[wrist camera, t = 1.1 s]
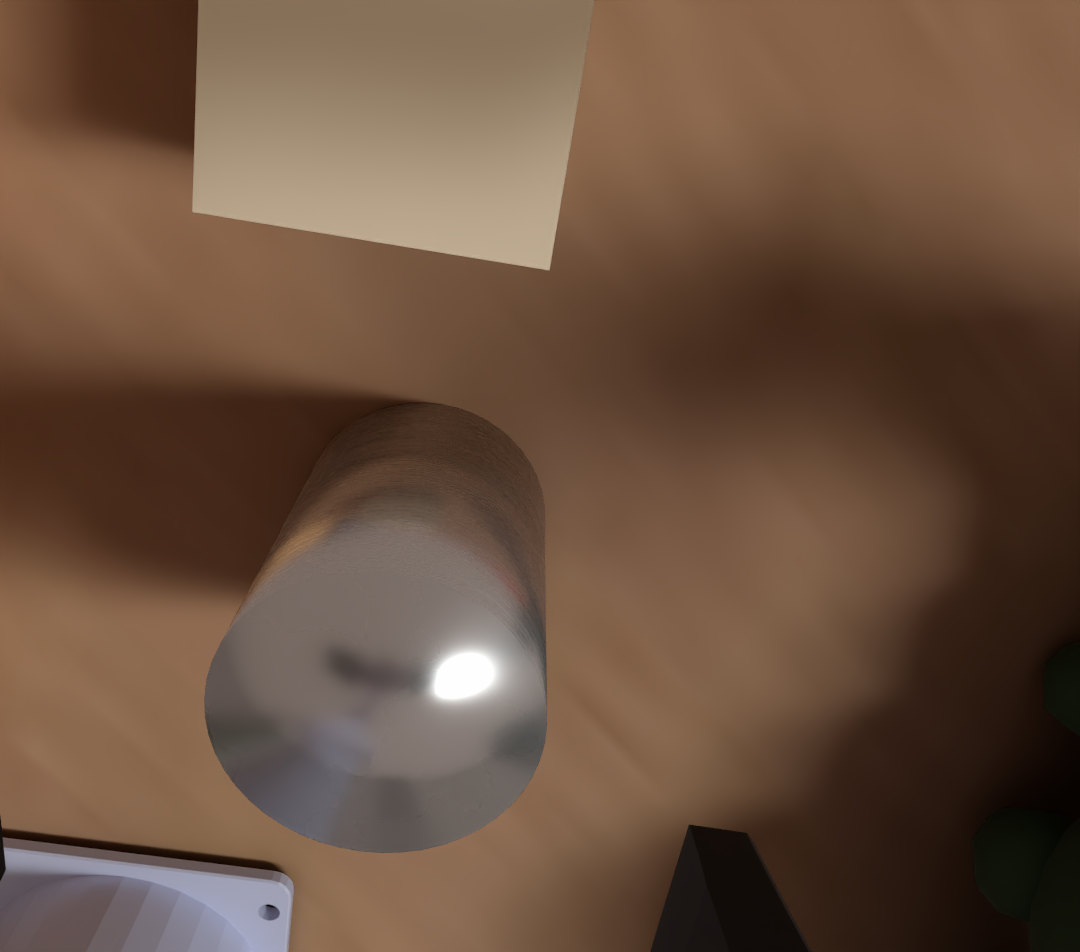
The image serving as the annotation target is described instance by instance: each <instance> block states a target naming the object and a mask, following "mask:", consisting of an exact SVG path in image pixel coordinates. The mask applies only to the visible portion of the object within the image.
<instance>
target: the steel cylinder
mask: <svg viewBox="0 0 1080 952" xmlns="http://www.w3.org/2000/svg"><path fill="white" fill-rule="evenodd" d="M204 703H205V719H206V724H207V729H208V734H209V737H210V740H211V743H212V745H213V748H214V751H215V753H216V755H217V757H218V759H219V761H220V763H221V765H222V767H223V768H224V770H225V772H226V773H227V774H228V776H229V777H230V778H231V780H232V781H233V783H234V784H235V785H236V787H237V788H238V789H239V790H240V791H241V792H242V793H243V794H244V795H245V796H246V797H247V798H248V799H249V800H250V801H251V802H252V803H253V804H254V805H255V806H257V807H258V808H259V809H260V810H261V811H263V812H264V813H265V814H267V815H268V816H270V817H271V818H273V819H274V820H276V821H277V822H279V823H280V824H282V825H283V826H285V827H287V828H289V829H291V830H293V831H295V832H297V833H299V834H301V835H303V836H306V837H308V838H311V839H313V840H316V841H319V842H322V843H325V844H329V845H332V846H336V847H339V848H345V849H351V850H356V851H364V852H377V853H395V852H409V851H416V850H423V849H428V848H432V847H436V846H440V845H444V844H447V843H449V842H452V841H455V840H458V839H461V838H463V837H465V836H467V835H469V834H471V833H473V832H475V831H477V830H479V829H481V828H482V827H484V826H485V825H487V824H488V823H490V822H491V821H493V820H494V819H496V818H497V817H498V816H499V815H500V814H502V813H503V812H504V811H505V810H506V809H507V808H509V807H510V806H511V805H512V803H513V802H514V801H515V800H516V799H517V798H518V797H519V796H520V794H521V793H522V792H523V790H524V789H525V787H526V786H527V784H528V783H529V781H530V780H531V778H532V777H533V774H534V772H535V770H536V768H537V766H538V764H539V761H540V758H541V755H542V751H543V748H544V744H545V737H546V729H547V683H546V575H545V505H544V499H543V494H542V489H541V486H540V483H539V480H538V477H537V475H536V473H535V471H534V469H533V467H532V465H531V463H530V462H529V460H528V459H527V457H526V456H525V454H524V453H523V451H522V450H521V449H520V448H519V447H518V446H517V445H516V444H515V442H514V441H513V440H512V439H511V438H510V437H508V436H507V435H506V434H505V433H504V432H503V431H501V430H500V429H499V428H497V427H496V426H494V425H493V424H491V423H490V422H488V421H487V420H485V419H483V418H481V417H479V416H477V415H475V414H473V413H470V412H467V411H465V410H462V409H459V408H456V407H451V406H446V405H442V404H432V403H407V404H400V405H394V406H390V407H386V408H383V409H380V410H376V411H374V412H372V413H370V414H367V415H365V416H363V417H361V418H359V419H358V420H356V421H355V422H353V423H351V424H350V425H348V426H347V427H346V428H345V429H344V430H342V431H341V432H340V433H339V434H337V436H336V437H335V438H334V439H333V440H332V441H331V442H330V443H329V444H328V445H327V447H326V448H325V450H324V451H323V453H322V454H321V456H320V457H319V459H318V461H317V463H316V465H315V467H314V468H313V470H312V472H311V474H310V476H309V478H308V480H307V482H306V484H305V485H304V487H303V489H302V491H301V493H300V495H299V497H298V499H297V500H296V502H295V504H294V506H293V508H292V510H291V512H290V514H289V516H288V517H287V519H286V521H285V523H284V525H283V527H282V529H281V531H280V532H279V534H278V536H277V538H276V540H275V542H274V544H273V546H272V548H271V549H270V551H269V553H268V555H267V557H266V559H265V561H264V563H263V564H262V566H261V568H260V570H259V572H258V574H257V576H256V578H255V580H254V581H253V583H252V585H251V587H250V589H249V591H248V593H247V595H246V596H245V598H244V600H243V602H242V604H241V606H240V608H239V610H238V612H237V613H236V615H235V617H234V619H233V621H232V623H231V625H230V627H229V628H228V630H227V632H226V634H225V636H224V638H223V640H222V642H221V644H220V646H219V648H218V650H217V652H216V654H215V656H214V658H213V660H212V663H211V666H210V670H209V673H208V676H207V680H206V688H205V697H204Z"/></svg>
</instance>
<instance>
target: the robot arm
mask: <svg viewBox="0 0 1080 952" xmlns="http://www.w3.org/2000/svg"><path fill="white" fill-rule="evenodd" d="M293 893H294V887H293V882H292V881H291V880H290V878H289V877H288V876H286V875H285V874H283V873H281V872H277V871H271V870H263V869H255V868H247V867H239V866H231V865H223V864H215V863H206V862H198V861H190V860H182V859H174V858H166V857H158V856H150V855H142V854H134V853H125V852H117V851H109V850H101V849H93V848H85V847H77V846H69V845H61V844H52V843H44V842H36V841H28V840H20V839H12V838H4V837H3V836H2V827H1V818H0V952H288V949H289V938H290V927H291V915H292V904H293ZM268 904H270V905H273V906H275V907H276V908H271V907H268V906H266V905H268ZM651 952H811V950H810V948H809V946H808V944H807V943H806V941H805V939H804V937H803V935H802V933H801V932H800V930H799V928H798V926H797V924H796V923H795V921H794V919H793V917H792V915H791V913H790V911H789V910H788V908H787V906H786V904H785V902H784V900H783V898H782V896H781V895H780V893H779V891H778V889H777V887H776V885H775V883H774V881H773V879H772V877H771V875H770V874H769V872H768V870H767V868H766V866H765V864H764V862H763V860H762V858H761V856H760V854H759V852H758V850H757V848H756V846H755V844H754V843H753V841H752V840H751V838H750V837H749V836H748V834H747V833H743V832H736V831H729V830H722V829H715V828H708V827H701V826H694V825H689V826H688V830H687V833H686V836H685V840H684V843H683V846H682V850H681V853H680V856H679V859H678V863H677V866H676V869H675V873H674V876H673V879H672V882H671V886H670V889H669V892H668V896H667V899H666V902H665V906H664V909H663V912H662V915H661V919H660V922H659V925H658V929H657V932H656V935H655V939H654V942H653V945H652V948H651Z"/></svg>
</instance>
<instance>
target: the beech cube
mask: <svg viewBox="0 0 1080 952" xmlns="http://www.w3.org/2000/svg"><path fill="white" fill-rule="evenodd" d="M594 1H595V0H198V34H197V69H196V105H195V141H194V176H193V212H196V213H202V214H208V215H215V216H221V217H227V218H233V219H239V220H245V221H251V222H257V223H263V224H270V225H276V226H282V227H288V228H294V229H300V230H306V231H312V232H318V233H324V234H331V235H337V236H343V237H349V238H355V239H361V240H367V241H373V242H379V243H386V244H392V245H398V246H404V247H410V248H416V249H422V250H428V251H434V252H441V253H447V254H453V255H459V256H465V257H471V258H477V259H483V260H489V261H495V262H502V263H508V264H514V265H520V266H526V267H532V268H538V269H544V270H550V264H551V258H552V252H553V246H554V240H555V234H556V228H557V222H558V216H559V210H560V204H561V198H562V192H563V186H564V180H565V174H566V168H567V162H568V156H569V150H570V144H571V138H572V133H573V127H574V121H575V115H576V109H577V103H578V97H579V91H580V85H581V79H582V73H583V67H584V61H585V55H586V49H587V43H588V37H589V31H590V25H591V19H592V13H593V7H594Z"/></svg>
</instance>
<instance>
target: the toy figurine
mask: <svg viewBox="0 0 1080 952" xmlns="http://www.w3.org/2000/svg"><path fill="white" fill-rule="evenodd" d="M1043 707H1044V708H1045V709H1046V710H1047V711H1048V712H1049V713H1050V714H1052V715H1053V716H1054V717H1055V718H1056V719H1057V720H1058V721H1059V722H1060V723H1062V724H1063V725H1064V726H1065V727H1066V728H1068V729H1070V730H1071V731H1073V732H1074V733H1076V734H1077V735H1079V736H1080V641H1078V642H1074V643H1070V644H1067V645H1066V646H1065V647H1063V648H1062V649H1061V650H1060V651H1058V652H1057V653H1056V654H1055V655H1053V656H1052V657H1051V658H1050V659H1048V660H1047V661H1046V662H1045V670H1044V684H1043ZM973 868H974V874H975V879H976V884H977V887H978V889H979V890H980V891H981V892H982V893H983V895H984V896H985V897H986V898H987V899H988V901H989V902H990V903H991V904H992V906H993V907H994V908H995V909H996V910H997V912H998V913H1001V914H1004V915H1007V916H1010V917H1013V918H1016V919H1018V920H1021V921H1025V922H1029V928H1028V930H1029V937H1030V944H1031V950H1032V952H1080V818H1079V819H1077V820H1076V821H1075V822H1074V823H1072V822H1071V821H1070V820H1069V819H1068V818H1067V817H1066V816H1065V815H1064V814H1061V813H1054V812H1047V811H1040V810H1034V809H1025V808H1013V807H1005V808H1003V809H1000V810H998V811H996V812H993V813H991V814H990V815H989V817H988V818H987V819H986V821H985V822H984V823H983V825H982V826H981V827H980V829H979V830H978V832H977V833H976V834H975V836H974V837H973Z"/></svg>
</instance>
